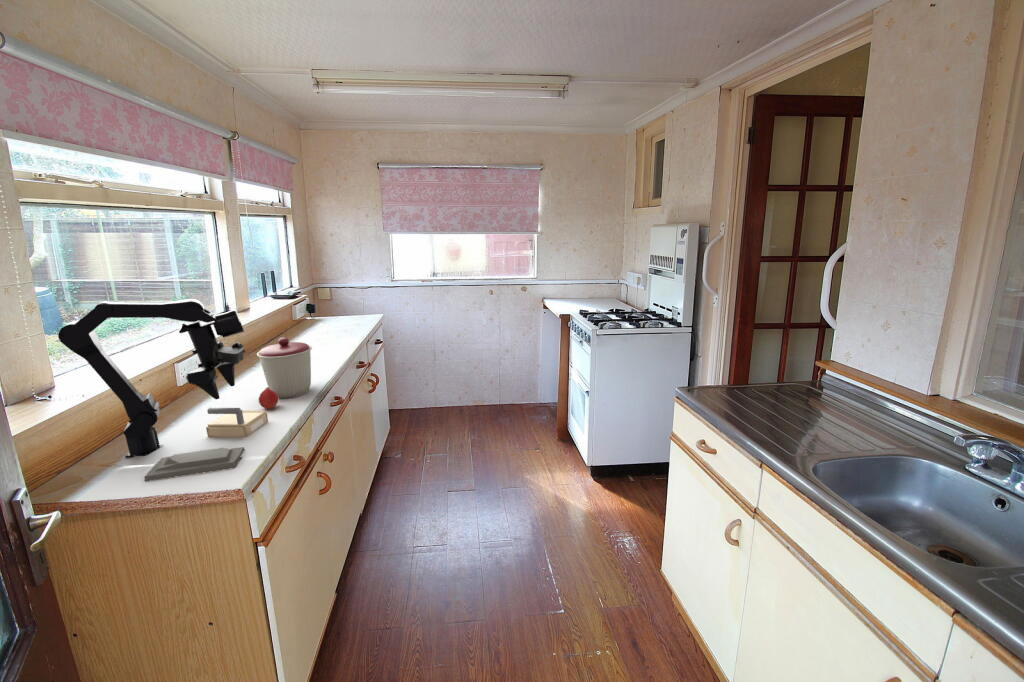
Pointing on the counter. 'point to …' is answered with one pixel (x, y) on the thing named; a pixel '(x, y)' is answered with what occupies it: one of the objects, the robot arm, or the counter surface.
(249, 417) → the flap
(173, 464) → the soap mold
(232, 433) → the carton
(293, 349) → the canister
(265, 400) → the onion
